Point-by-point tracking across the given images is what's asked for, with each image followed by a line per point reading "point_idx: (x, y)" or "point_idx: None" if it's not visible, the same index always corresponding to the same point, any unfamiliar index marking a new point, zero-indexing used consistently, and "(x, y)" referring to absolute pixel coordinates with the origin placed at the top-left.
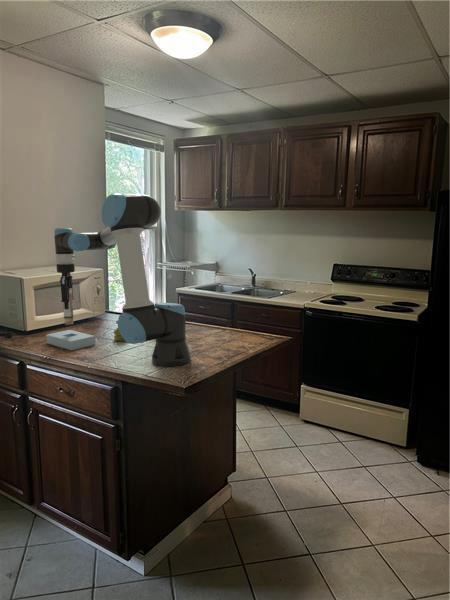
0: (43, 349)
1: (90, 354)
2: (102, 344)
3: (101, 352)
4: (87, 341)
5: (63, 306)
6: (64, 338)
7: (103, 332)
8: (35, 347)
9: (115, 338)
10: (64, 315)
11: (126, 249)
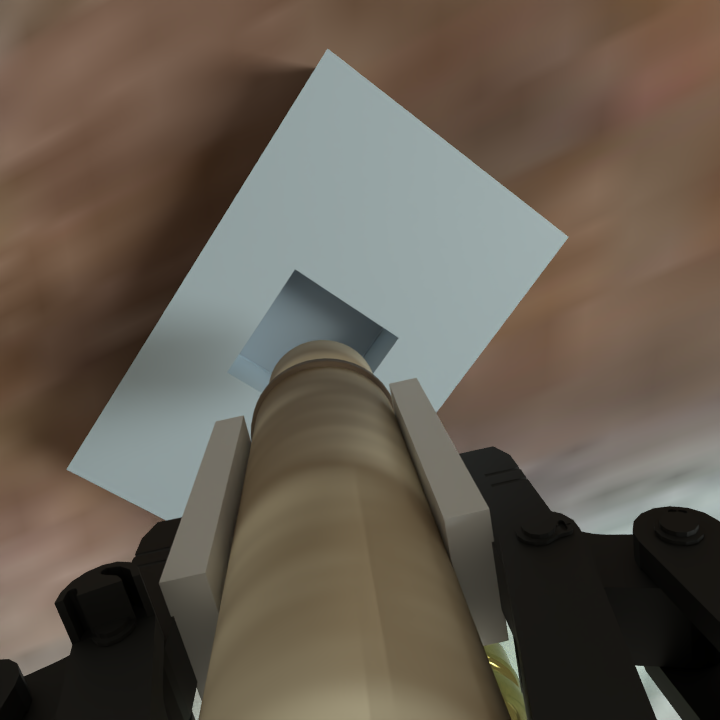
0: (84, 150)
1: (12, 616)
2: None
3: None
4: None
5: (270, 465)
6: (169, 355)
7: (713, 453)
8: (144, 17)
9: None
10: (216, 432)
11: None
